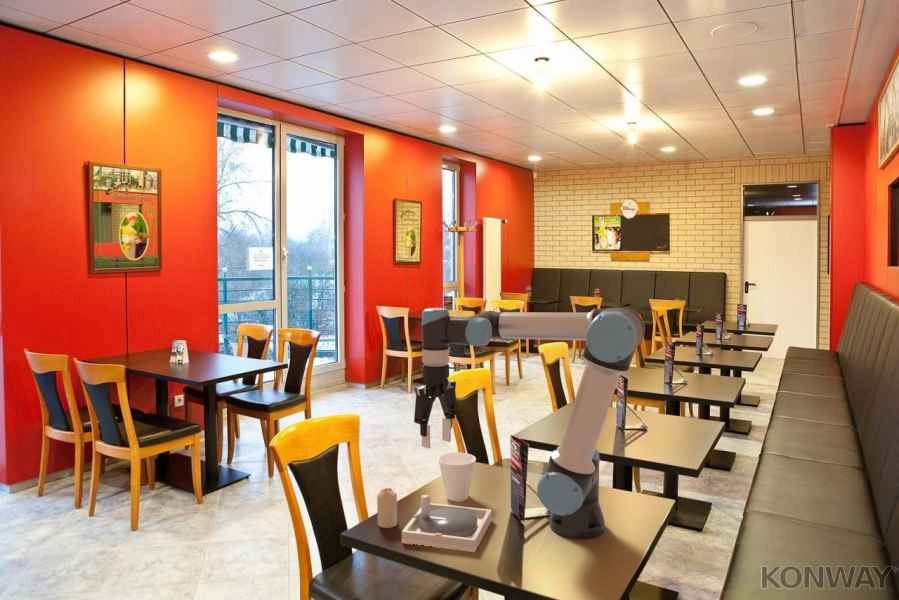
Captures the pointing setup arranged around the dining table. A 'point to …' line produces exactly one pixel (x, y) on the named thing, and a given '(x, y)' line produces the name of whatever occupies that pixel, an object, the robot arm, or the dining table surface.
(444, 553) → the dining table surface
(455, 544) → the dial plate
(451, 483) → the cup
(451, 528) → the dial
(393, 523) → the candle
